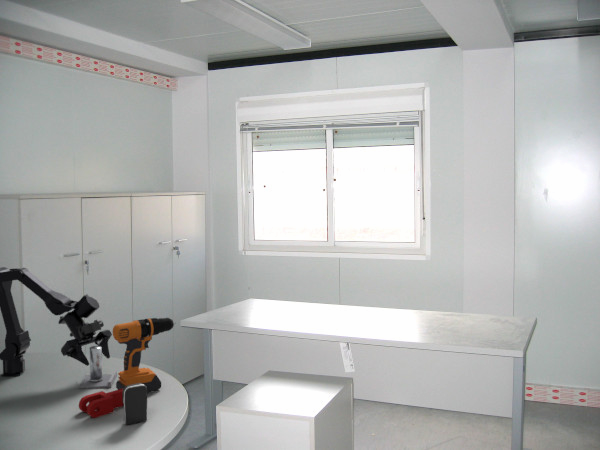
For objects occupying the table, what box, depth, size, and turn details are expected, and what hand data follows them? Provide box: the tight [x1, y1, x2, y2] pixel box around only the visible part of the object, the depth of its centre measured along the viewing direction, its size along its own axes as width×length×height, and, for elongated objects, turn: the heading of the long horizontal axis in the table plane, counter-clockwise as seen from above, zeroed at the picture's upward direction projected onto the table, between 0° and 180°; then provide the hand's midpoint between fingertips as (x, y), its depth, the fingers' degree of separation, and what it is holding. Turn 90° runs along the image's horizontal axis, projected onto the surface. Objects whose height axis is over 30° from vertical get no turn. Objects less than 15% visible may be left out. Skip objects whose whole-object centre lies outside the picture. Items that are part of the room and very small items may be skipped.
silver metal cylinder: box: [89, 345, 103, 383], centre depth 210 cm, size 4×4×12 cm
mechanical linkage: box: [78, 389, 124, 419], centre depth 188 cm, size 16×7×5 cm, turn 136°
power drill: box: [112, 317, 176, 394], centre depth 203 cm, size 22×7×25 cm, turn 124°
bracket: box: [77, 370, 118, 390], centre depth 211 cm, size 11×12×2 cm
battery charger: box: [122, 383, 148, 426], centre depth 178 cm, size 7×4×11 cm, turn 125°
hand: (98, 361), depth 209 cm, fingers open, 9 cm apart
